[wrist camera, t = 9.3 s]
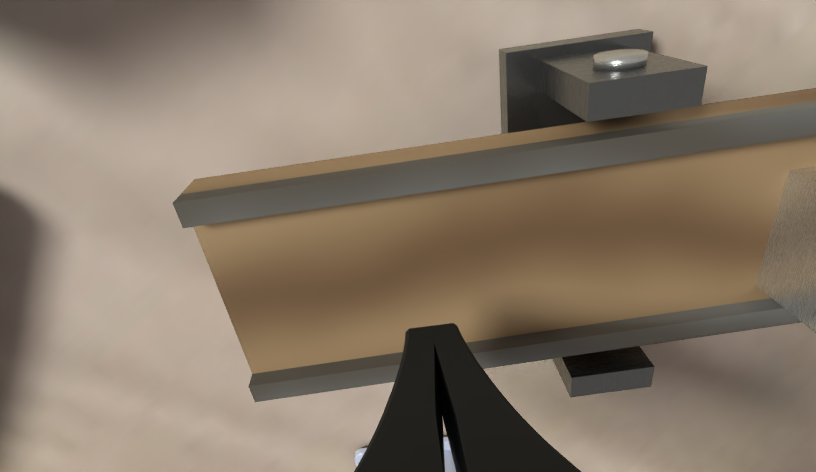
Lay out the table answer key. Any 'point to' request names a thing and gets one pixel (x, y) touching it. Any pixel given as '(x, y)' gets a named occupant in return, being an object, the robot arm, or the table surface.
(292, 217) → the beam
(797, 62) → the table surface
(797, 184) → the block
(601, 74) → the stand
